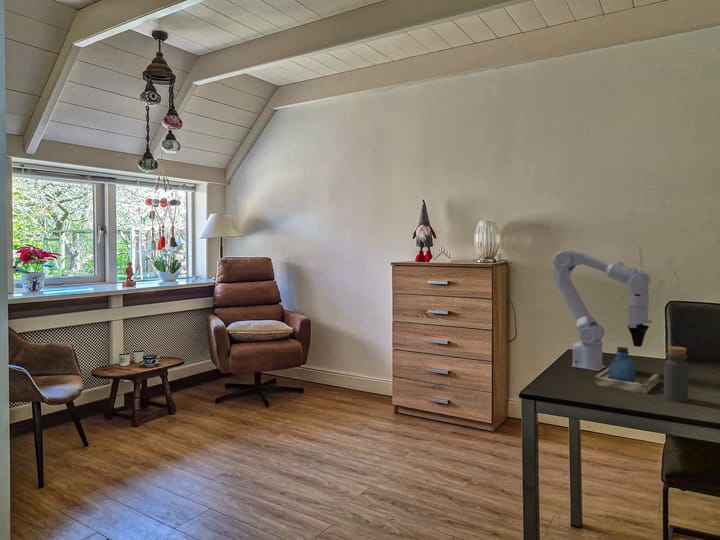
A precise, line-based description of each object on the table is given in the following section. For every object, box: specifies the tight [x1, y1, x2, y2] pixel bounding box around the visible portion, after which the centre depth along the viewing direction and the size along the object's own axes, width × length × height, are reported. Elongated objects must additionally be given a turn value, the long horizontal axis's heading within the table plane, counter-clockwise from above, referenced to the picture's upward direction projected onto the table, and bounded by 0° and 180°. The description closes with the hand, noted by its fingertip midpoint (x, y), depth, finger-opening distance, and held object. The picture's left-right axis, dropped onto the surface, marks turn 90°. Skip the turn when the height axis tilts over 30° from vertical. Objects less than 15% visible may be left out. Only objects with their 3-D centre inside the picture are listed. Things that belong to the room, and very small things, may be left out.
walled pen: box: [593, 367, 660, 394], centre depth 160 cm, size 15×17×2 cm
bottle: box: [663, 345, 690, 403], centre depth 143 cm, size 6×6×15 cm
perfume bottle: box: [608, 346, 636, 383], centre depth 157 cm, size 6×6×12 cm
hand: (637, 346), depth 170 cm, fingers closed
